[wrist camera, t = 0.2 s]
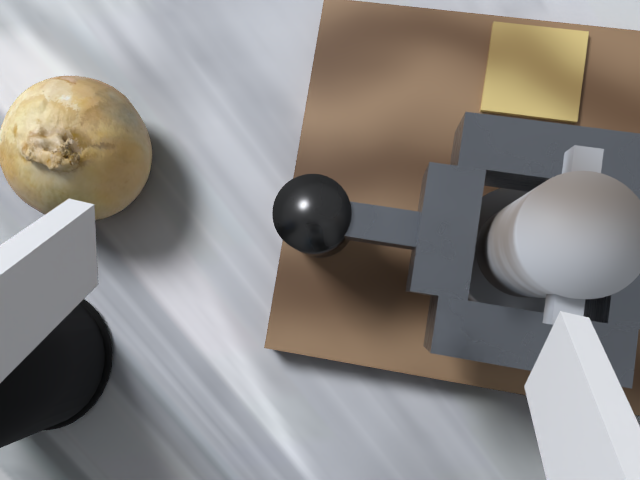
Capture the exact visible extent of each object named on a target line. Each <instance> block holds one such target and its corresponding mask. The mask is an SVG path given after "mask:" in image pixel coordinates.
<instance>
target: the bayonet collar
mask: <svg viewBox="0 0 640 480" xmlns="http://www.w3.org/2000/svg"><path fill="white" fill-rule="evenodd" d="M574 145H577V146H585V147H593V148H601V149H604V152H603V160H602V169H601V173H602V174H605V175H608V176H610V177H612V178H615V179H617V180H618V181H620V182H621V183H623V184H624V185H626V186H627V187H628V188H629V189H631V190H632V191H633V193H634V194H635V195H636V196H637V197H638V198H639V200H640V133H632V132H624V131H616V130H608V129H600V128H592V127H584V126H576V125H568V124H560V123H552V122H544V121H536V120H528V119H520V118H512V117H504V116H497V115H489V114H481V113H473V112H465V114H464V116H463V117H462V119H461V121H460V123H459V125H458V127H457V129H456V131H455V134H454V140H453V147H452V154H451V161H450V165H449V164H441V163H434V162H429V164H428V166H427V168H426V171H425V173H424V175H423V178H422V185H421V191H420V198H419V205H418V211H412V210H405V209H399V208H392V207H385V206H378V205H371V204H365V203H358V202H351V201H350V200H349V198H348V195H347V193H346V192H345V190H344V189H343V188H342V186H341V185H340V184H339V183H337V182H336V181H335V180H333V179H331V178H329V177H327V176H324V175H321V174H305V175H301V176H298V177H296V178H294V179H292V180H290V181H289V182H288V183H286V184H285V185H284V186H283V187H282V189H281V190H280V191H279V193H278V195H277V196H276V199H275V201H274V205H273V222H274V225H275V228H276V230H277V232H278V234H279V236H280V237H281V238H282V239H283V240H284V241H285V242H286V243H287V244H288V245H290V246H291V247H293V248H294V249H296V250H298V251H300V252H301V253H303V254H305V255H307V256H310V257H314V258H325V257H330V256H333V255H335V254H337V253H338V252H340V251H341V250H342V249H344V247H345V246H346V245H347V244H348V242H349V241H350V240H351V241H357V242H364V243H370V244H376V245H383V246H389V247H396V248H402V249H409V250H412V251H411V258H410V264H409V271H408V278H407V284H406V291H407V292H413V293H419V294H425V295H431V297H430V304H429V310H428V317H427V324H426V331H425V338H424V345H423V346H424V347H425V348H426V349H427V350H428V351H429V352H430V353H432V354H438V355H444V356H449V357H455V358H461V359H466V360H472V361H478V362H483V363H489V364H495V365H500V366H506V367H512V368H517V369H523V370H529V371H532V369H533V367H534V365H535V363H536V361H537V358H538V356H539V354H540V352H541V350H542V348H543V346H544V344H545V342H546V340H547V338H548V335H549V333H550V331H551V329H552V327H553V325H552V324H546V323H543V315H544V313H541V312H535V311H528V310H522V309H516V308H510V307H504V306H498V305H492V304H486V303H480V302H474V301H468V295H469V288H470V281H471V274H472V267H473V260H474V253H475V246H476V238H477V231H478V224H479V217H480V210H481V203H482V196H483V189H484V186H491V187H498V188H505V189H512V190H519V191H526V192H530V191H531V190H533V189H534V188H536V187H537V186H539V185H541V184H542V183H544V182H545V181H547V180H548V179H550V178H552V177H555V176H557V175H560V174H562V168H563V160H564V153H565V152H566V151H567V150H569V149H570V148H571V147H573V146H574ZM583 316H584V317H589V318H590V320H591V323H592V325H593V327H594V329H595V331H596V333H597V336H598V338H599V340H600V342H601V344H602V346H603V348H604V351H605V353H606V355H607V357H608V359H609V361H610V363H611V366H612V368H613V370H614V372H615V374H616V376H617V379H618V381H619V383H620V385H621V387H625V388H631V389H632V385H633V376H634V368H635V359H636V350H637V341H638V332H639V330H640V274H639V275H638V277H637V278H636V279H635V280H634V281H633V282H632V283H630V284H629V285H628V286H627V287H625V288H624V289H622V290H621V291H619V292H617V293H614V294H612V295H609V296H606V297H603V298H596V299H585V307H584V315H583Z"/></svg>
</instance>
